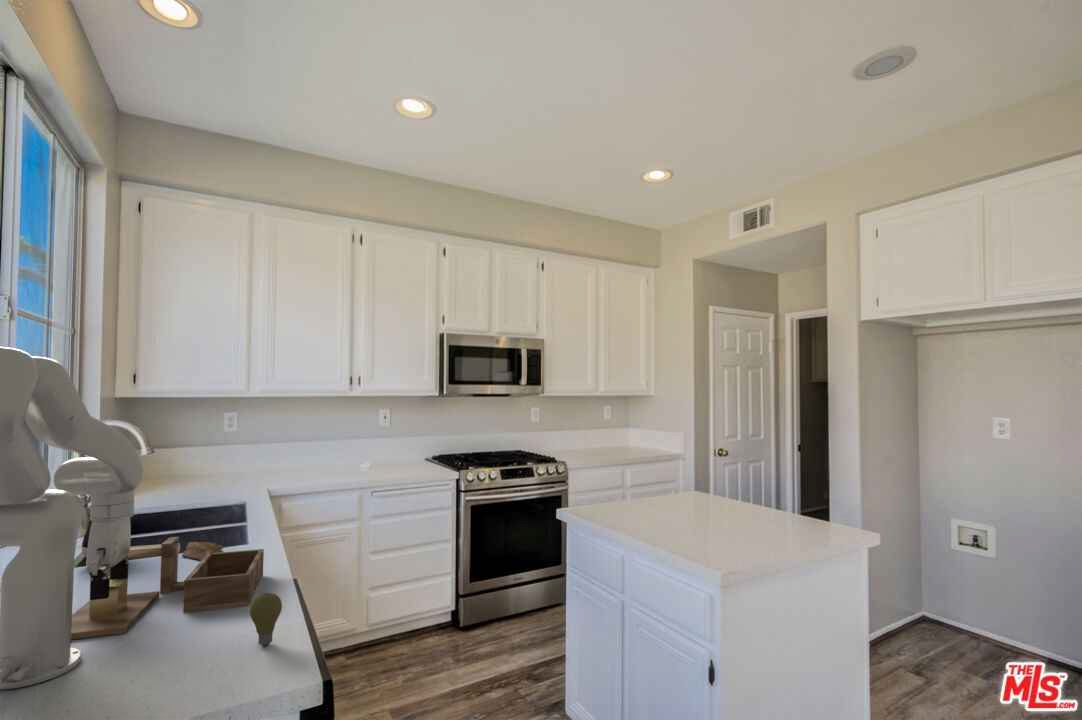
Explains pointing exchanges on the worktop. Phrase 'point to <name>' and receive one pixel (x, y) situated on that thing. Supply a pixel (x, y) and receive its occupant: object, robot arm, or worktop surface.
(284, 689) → the worktop surface
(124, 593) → the lid
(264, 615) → the light bulb
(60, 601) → the robot arm
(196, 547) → the wooden fragment
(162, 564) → the wooden box
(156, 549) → the wooden key
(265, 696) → the worktop surface
